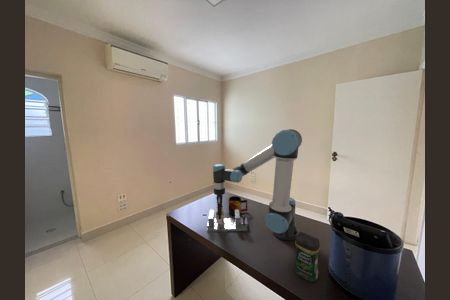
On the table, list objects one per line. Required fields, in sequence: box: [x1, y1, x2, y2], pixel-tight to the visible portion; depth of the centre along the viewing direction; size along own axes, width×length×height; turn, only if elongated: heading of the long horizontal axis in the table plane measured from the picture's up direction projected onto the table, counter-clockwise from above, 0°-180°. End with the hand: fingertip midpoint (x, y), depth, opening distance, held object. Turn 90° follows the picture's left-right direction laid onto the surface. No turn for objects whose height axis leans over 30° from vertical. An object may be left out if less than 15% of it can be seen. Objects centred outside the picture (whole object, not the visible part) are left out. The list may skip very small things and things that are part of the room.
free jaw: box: [234, 209, 249, 228], centre depth 116 cm, size 8×12×8 cm
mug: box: [227, 195, 248, 218], centre depth 134 cm, size 10×14×12 cm
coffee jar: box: [293, 231, 321, 283], centre depth 77 cm, size 10×8×19 cm
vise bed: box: [206, 209, 248, 232], centre depth 117 cm, size 26×13×8 cm, turn 89°
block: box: [215, 206, 225, 223], centre depth 117 cm, size 5×7×8 cm
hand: (220, 219), depth 117 cm, fingers closed on block, 7 cm apart
